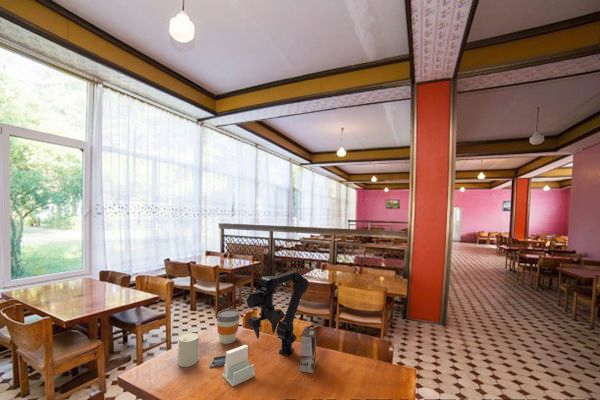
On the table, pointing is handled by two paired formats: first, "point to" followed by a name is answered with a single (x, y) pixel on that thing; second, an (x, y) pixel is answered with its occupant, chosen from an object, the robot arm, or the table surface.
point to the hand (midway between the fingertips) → (265, 335)
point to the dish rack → (239, 373)
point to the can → (188, 349)
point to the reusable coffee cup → (227, 325)
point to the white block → (236, 357)
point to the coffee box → (308, 350)
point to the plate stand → (218, 361)
